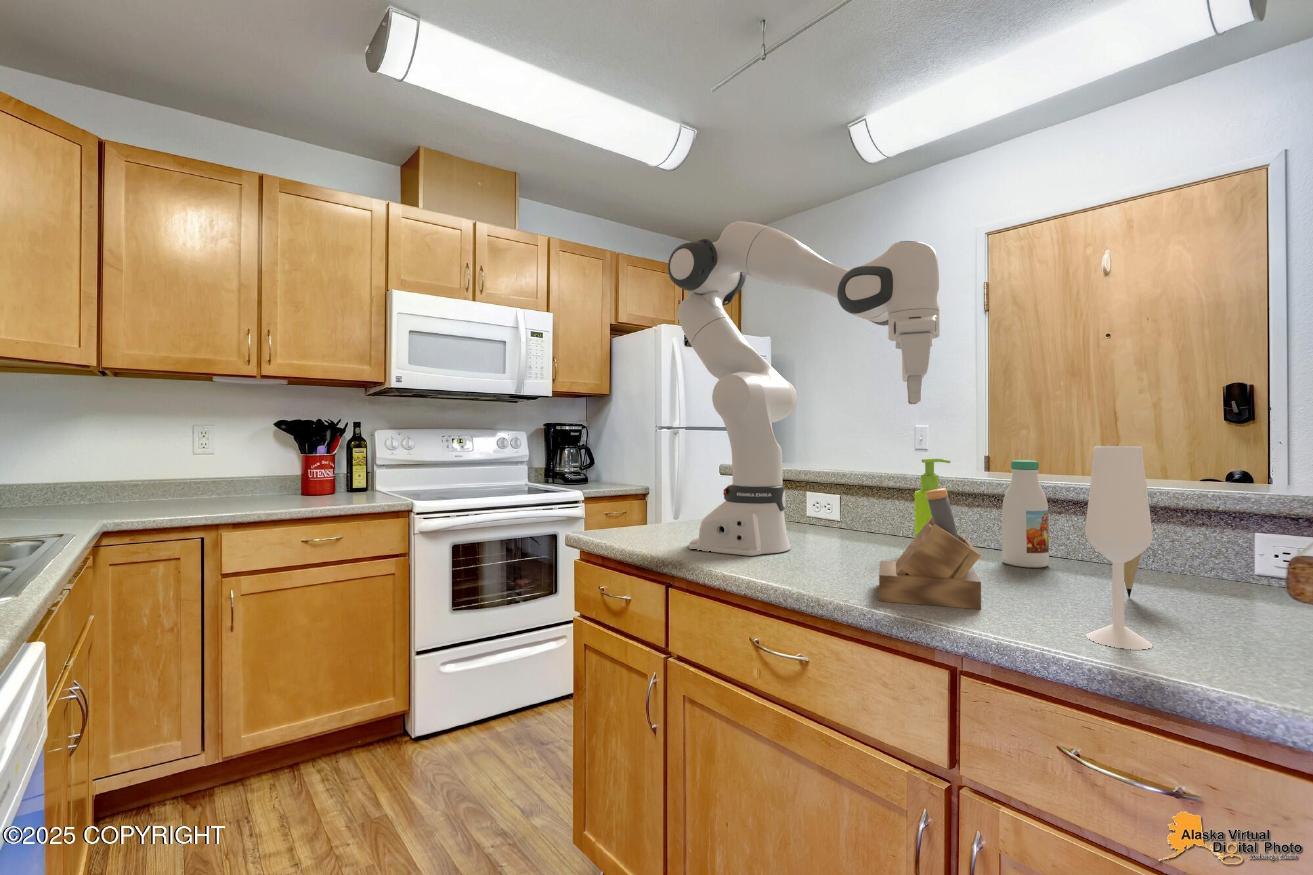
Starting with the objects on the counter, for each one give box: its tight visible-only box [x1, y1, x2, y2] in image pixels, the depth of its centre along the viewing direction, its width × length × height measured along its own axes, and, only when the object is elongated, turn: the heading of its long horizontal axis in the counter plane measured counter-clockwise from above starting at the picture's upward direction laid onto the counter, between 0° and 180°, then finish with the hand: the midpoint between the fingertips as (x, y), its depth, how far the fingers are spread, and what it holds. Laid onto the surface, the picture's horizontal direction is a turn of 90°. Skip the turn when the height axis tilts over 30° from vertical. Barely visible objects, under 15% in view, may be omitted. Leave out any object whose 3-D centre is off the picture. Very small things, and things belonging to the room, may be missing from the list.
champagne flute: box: [1084, 445, 1154, 651], centre depth 77 cm, size 7×7×24 cm
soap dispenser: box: [914, 458, 952, 538], centre depth 130 cm, size 6×7×20 cm
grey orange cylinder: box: [925, 487, 959, 540], centre depth 97 cm, size 3×3×10 cm
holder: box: [878, 517, 982, 610], centre depth 98 cm, size 14×11×12 cm
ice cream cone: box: [1124, 524, 1153, 599], centre depth 96 cm, size 6×6×15 cm
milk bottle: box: [1001, 459, 1050, 569], centre depth 120 cm, size 8×8×20 cm
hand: (914, 403), depth 116 cm, fingers open, 8 cm apart
